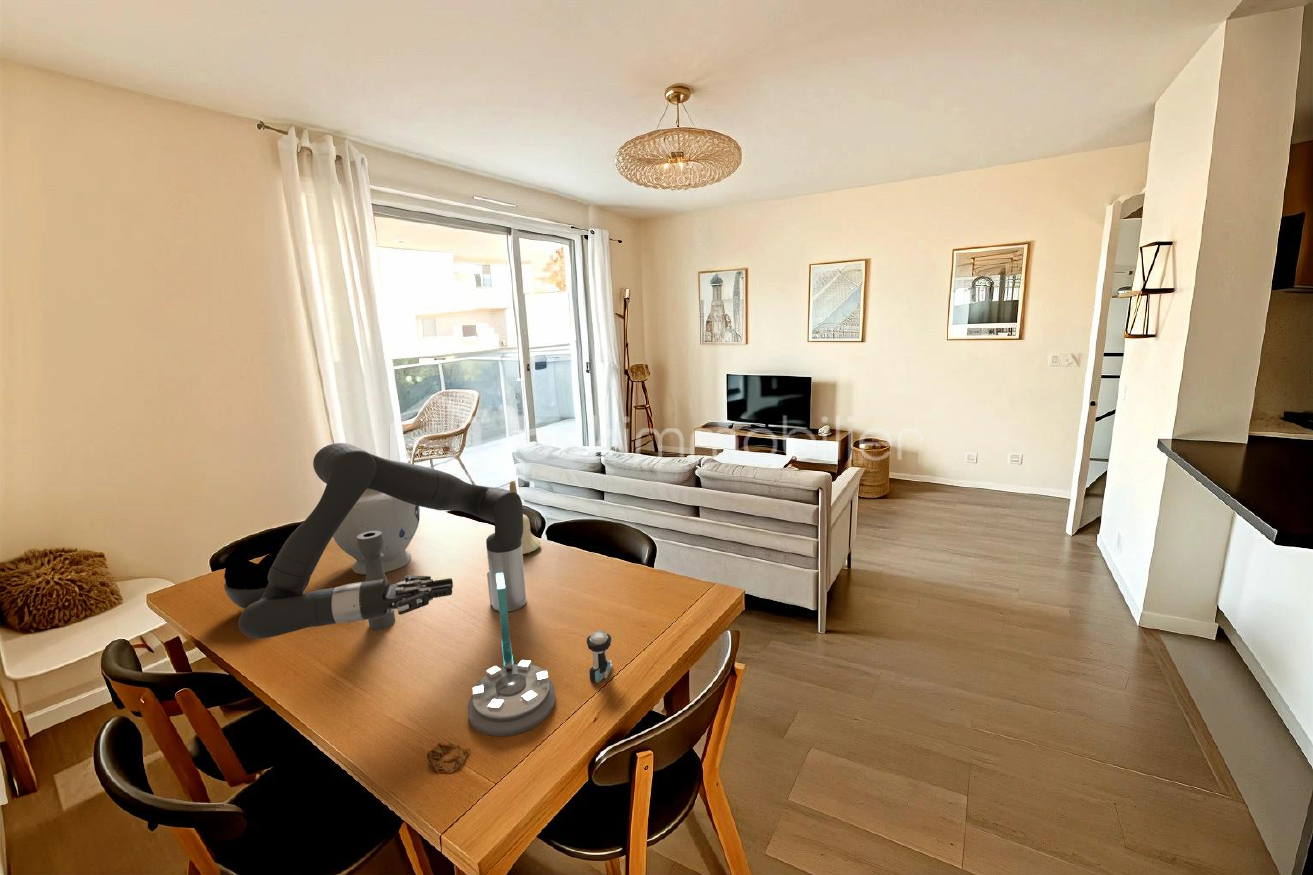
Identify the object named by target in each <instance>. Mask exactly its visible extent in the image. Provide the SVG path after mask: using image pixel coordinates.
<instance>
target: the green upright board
mask: <svg viewBox="0 0 1313 875" xmlns="http://www.w3.org/2000/svg"><path fill="white" fill-rule="evenodd" d="M496 581H497V591H498V602H499V611H498V612H499V621H500V630H501V632H500V633H501V641H500V643H501V651H502V659H503V666H502V667H501V666H500V667H498V666H497V665H494V666H492V667H490V668H488V669H487V670H485V671H486V672H485V673H486V675H484V676H483V677H481V679H479V680H478V681H477V682H476V684H475V685H474V687H472V694H471V696H472V698H473V707H474V710H475V712H476V713H477V714H478V715H479V716H480V717H482V718H483V719H486V720H489V721H494V722H507V721H513V720H517V719H520V718H523V717H525V716H527V715H530V714H531V713H533V712H535V711H536V710H537V709H539V708H540V707H541V706H542V705H543V704H544V703H545V701H546V700H547V698H548V695H549V690H550V689H549V679H550V677H549V675H548V671H547V670H545V669H542V667H539V666H537V665H535V664H532V661H531V660H525V659H521V660H520V661H519V663H515V664H514V657H513V649H512V642H511V641H512V640H511V637H510V636H511V635H510V625H509V614H508V612H507V602H506V592H505V583H504V576H503V573H497V574H496Z"/></svg>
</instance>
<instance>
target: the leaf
mask: <svg viewBox="0 0 1313 875" xmlns="http://www.w3.org/2000/svg"><path fill="white" fill-rule="evenodd" d="M454 750H456V751H457V750H458V751H457V753H458V754H457V755H454V756H452V757H451V758H448V759H447V758H446V759H445V758H444V757H445V756H447V755H449V754H451V753H452V752H453V751H454ZM470 753H471V748H470V747H469V748H466V747H462V746H461V745H459V744H457V745H456V744H455V743H452V742H451V741H449V742H448V743H447V744H446V743H441V742H438V743H437V744H436V745H435V747H434V748H433V749H431V750H430V751H428V752H427V753H426V755H427V757H426V759H427V760H428V762H429V765H431V767H432V768H433V770H434V771H436V772H437V773H438V774H445V775H448V774H452V773H454V772H456V770H457V769H460V767H461V766H462V765H463V762H464V761H465V759H466V758H467V757H468V756H469V755H470ZM454 762H455V763H454ZM447 763H448V764H450V763H454V766H452V769H446V768H445V767H444V765H443V764H447Z"/></svg>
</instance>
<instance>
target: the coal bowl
mask: <svg viewBox="0 0 1313 875" xmlns="http://www.w3.org/2000/svg"><path fill="white" fill-rule="evenodd" d="M286 540H287V538H286V539H285V538H283V539H280V540H277V541H276V542H275V543H274V544H272V545H269V547H268V548H269V549H266V550H265V551H264V554H266V555H265V556H264V557H263V558H262V559H260V561H259V562H258V563H256V562H254V561H250V560H248V558H247V557H246V556H245V555H244V551H245V548H246V547H245V545H243V544H240V545H238V546H237V547H236V548H234V551H233V552H231V553H230V554H229V555H227V556H226V558H225V562H226V563H227V564H226V566H225V568H224V576H223V577H224V581H225V583H224V585H223V589H224V592H225V593H226V595H227V597H228V598H229V599H230V600H231V601H232V602H233V603H234V604H235V605H236V606H238V607H240V608H241V609H243V610H245V609H246V608H247V607H248V606H249V605H251V604H252V603H254V602H256V601H259V600H260V598H261V597H262V595H263V593H264V591H265V589H266V587H267V585H268V583H269V581H268V573H269V571H270V569H271V567H272V565H273V563H274V561H275V559H276V557H277V555H278V554H279V552H280V550H281V548H282V546H283V545H284V543H285V542H286ZM310 579H311V578H310ZM310 579H309V580H308V582H307V583H306V585H305V588H304V591H305V590H306V589H307V587H308V584H309V583H310Z"/></svg>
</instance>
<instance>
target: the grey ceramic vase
mask: <svg viewBox="0 0 1313 875" xmlns="http://www.w3.org/2000/svg"><path fill="white" fill-rule="evenodd" d="M420 508H421V507H420V506H417V505H414V504H410V503H407V502H404V501H401V500H399V499H396V498H394V497H391V496H389V495H387V494H384V493H382V492H379V491H376V490H372V489H368V488H367V489H366V490H365V492H364V493H363V494H362V496H361V497H360V498H359V500H358V501H357V502H356V504H355V505H354V506H353V508H352V509H351V511H350V512H349V513H348V515H347V516H346V518H345V519H344V520H343V522H342V523H341V525H340V526H339V528H338V529H337V531H336V532H335V534H334V535H333V537H332V538H333V539H334V542H335V543H336V545H337V546H338V547H339V548H340V549H341V550H342V551H343V552H345V553H346V554H347V555H349V556H350V557H352V558H353V559H354V560H356V561H355V562H353V564H352V568H351V569H352V571H353V573H355V574H358V575H365V576H366V567H365V564H364V563H363V562H362V561H361V559H362V557H363V554H362V553H361V552H360V550H359V548H358V542H357V536H358V535H359V534H361V533H364V532H368V531H381V532H382V537H383V548H382V549H381V553H383V554H384V558H383V559H382V566H383V571H384V574H386V573H390V572H392V571H395V570H398V569H401V568H403V567H405V566H406V565H407V564H409V563H410V562H411V561H412V557H413V556H412V554H411V553H410V552H408V551H407V548H408V547H409V545H410V543H411V542H412V541H413V537H414V536H415V535H416V532H417V530H418V528H419V524H420V514H421V512H420V510H421V509H420Z"/></svg>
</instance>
